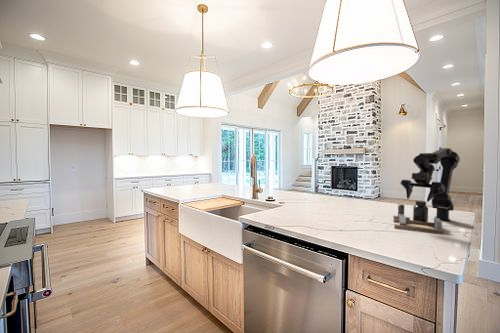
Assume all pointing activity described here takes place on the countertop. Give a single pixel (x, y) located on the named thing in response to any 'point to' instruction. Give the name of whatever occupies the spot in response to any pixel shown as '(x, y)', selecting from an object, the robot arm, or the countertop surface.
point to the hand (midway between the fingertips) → (417, 199)
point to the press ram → (401, 215)
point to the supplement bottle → (420, 211)
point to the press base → (421, 225)
